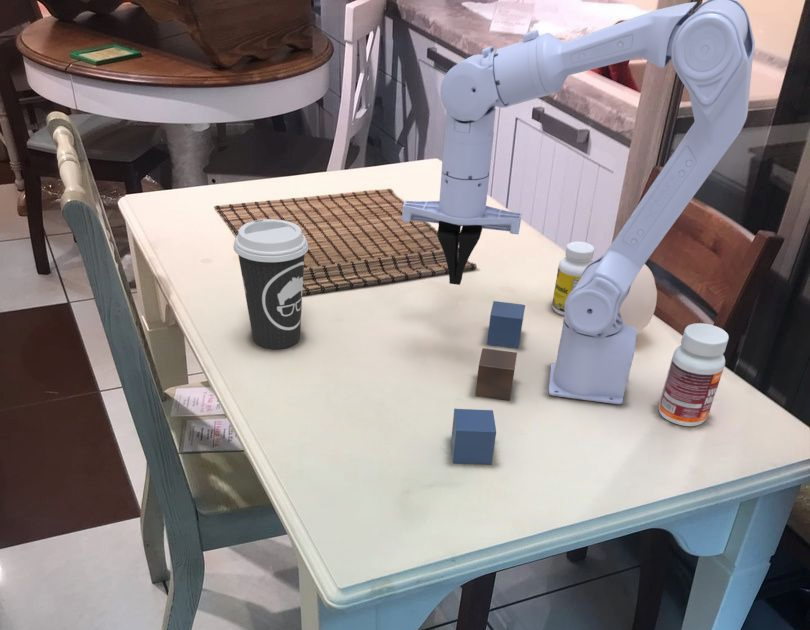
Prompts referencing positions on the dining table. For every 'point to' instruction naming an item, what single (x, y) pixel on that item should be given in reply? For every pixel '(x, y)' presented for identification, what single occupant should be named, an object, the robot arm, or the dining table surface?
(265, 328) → the coffee cup
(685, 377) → the pill bottle
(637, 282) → the egg
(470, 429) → the blue block near
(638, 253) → the robot arm
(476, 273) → the dining table surface
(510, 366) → the walnut block
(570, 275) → the supplement bottle
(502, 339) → the blue block far
